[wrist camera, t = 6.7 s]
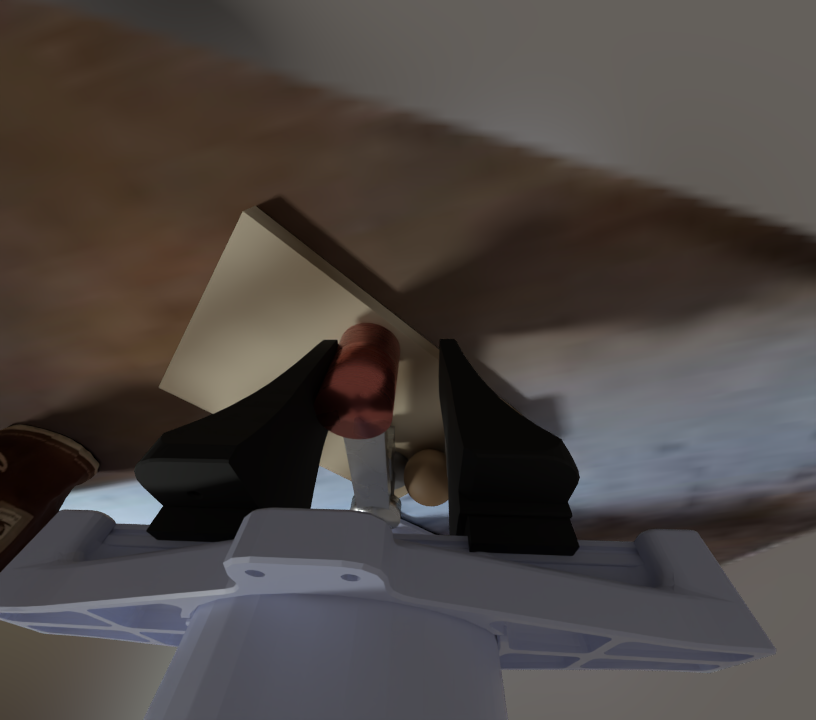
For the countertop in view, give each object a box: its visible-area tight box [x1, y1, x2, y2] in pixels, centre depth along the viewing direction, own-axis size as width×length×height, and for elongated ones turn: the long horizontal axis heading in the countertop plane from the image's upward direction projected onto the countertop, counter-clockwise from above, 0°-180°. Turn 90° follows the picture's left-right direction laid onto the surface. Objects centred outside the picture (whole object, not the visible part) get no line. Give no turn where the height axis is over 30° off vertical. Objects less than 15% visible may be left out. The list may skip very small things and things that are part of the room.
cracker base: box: [159, 206, 522, 506], centre depth 16 cm, size 18×12×4 cm, turn 49°
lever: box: [314, 323, 401, 529], centre depth 15 cm, size 13×3×4 cm, turn 0°
